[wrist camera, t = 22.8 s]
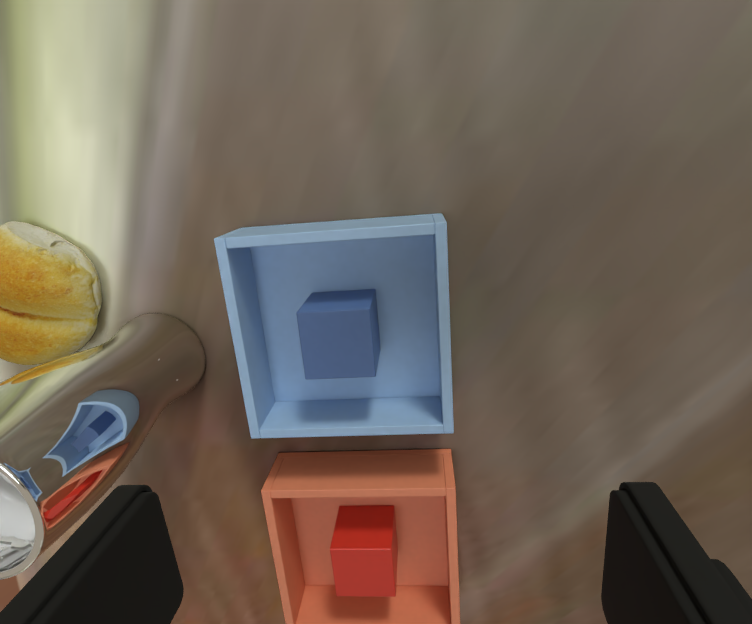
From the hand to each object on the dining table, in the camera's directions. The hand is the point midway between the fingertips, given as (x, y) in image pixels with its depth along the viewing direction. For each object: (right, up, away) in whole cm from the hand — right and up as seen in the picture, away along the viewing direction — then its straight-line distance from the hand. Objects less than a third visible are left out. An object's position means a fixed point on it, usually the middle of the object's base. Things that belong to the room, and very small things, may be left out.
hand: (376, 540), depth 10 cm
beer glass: (-14, +2, +22) cm, 27 cm away
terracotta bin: (0, -11, +25) cm, 27 cm away
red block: (-1, -11, +24) cm, 27 cm away
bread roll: (-22, +6, +21) cm, 31 cm away
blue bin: (-2, +4, +20) cm, 21 cm away
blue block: (-2, +4, +20) cm, 20 cm away
